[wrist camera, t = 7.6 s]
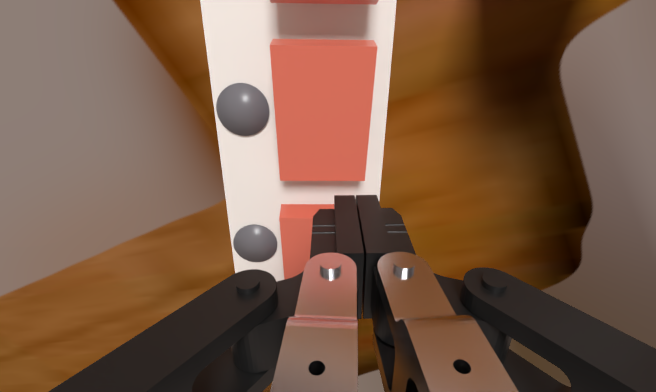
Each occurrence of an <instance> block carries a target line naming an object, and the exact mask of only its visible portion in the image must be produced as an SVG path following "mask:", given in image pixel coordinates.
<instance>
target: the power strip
mask: <svg viewBox="0 0 656 392" xmlns="http://www.w3.org/2000/svg"><path fill="white" fill-rule="evenodd" d="M396 1H397V0H379V1H378V2H377V4H376V5H373V4H312V3H271V2H270V0H200V2H201V10H202V18H203V26H204V34H205V41H206V49H207V57H208V65H209V72H210V80H211V88H212V96H213V103H214V111H215V119H216V127H217V135H218V142H219V150H220V158H221V165H222V173H223V181H224V189H225V197H226V204H227V212H228V220H229V228H230V236H231V243H232V251H233V259H234V267H235V273H238V272H240V271H244V270H250V269H258V270H263V271H266V272H269V273H270V274H272V275H273V276H274V278H275V279H276V282H277V281H281V280H284V269H283V257H282V245H281V234H280V222H279V216H280V209H281V204H334V195H355V198H356V195H377V197H378V201H379V197H380V185H381V174H382V162H383V151H384V139H385V128H386V116H387V105H388V93H389V82H390V70H391V59H392V47H393V35H394V24H395V12H396ZM272 39H328V40H374V41H375V43H376V45H377V57H376V68H375V78H374V89H373V99H372V110H371V121H370V131H369V142H368V152H367V163H366V173H365V181H280V174H279V161H278V148H277V135H276V122H275V109H274V96H273V83H272V70H271V57H270V43H271V41H272Z"/></svg>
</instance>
